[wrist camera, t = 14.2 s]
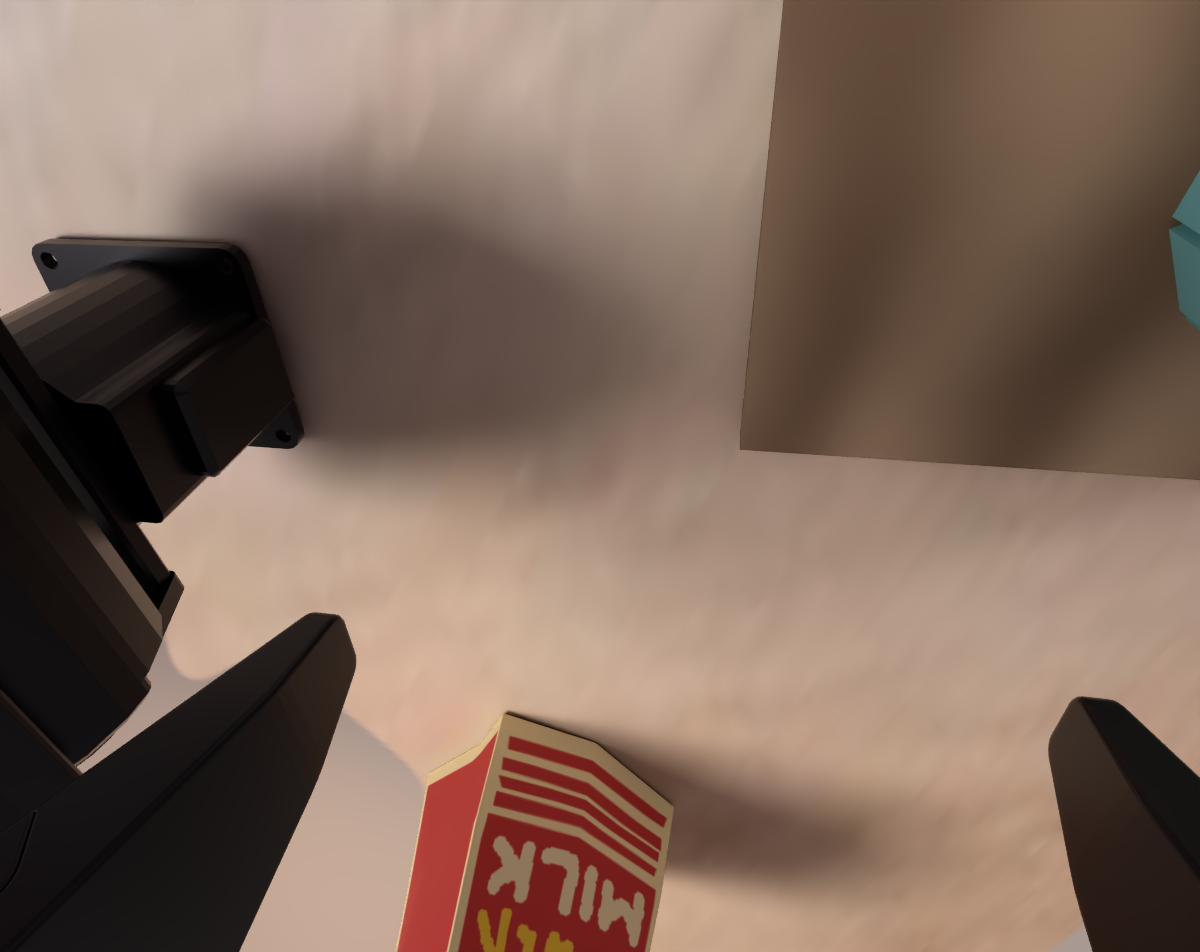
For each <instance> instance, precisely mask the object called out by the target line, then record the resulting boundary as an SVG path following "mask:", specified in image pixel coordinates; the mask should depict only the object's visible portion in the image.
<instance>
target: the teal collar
mask: <svg viewBox="0 0 1200 952" xmlns="http://www.w3.org/2000/svg"><path fill="white" fill-rule="evenodd" d="M1172 217H1173V218H1175V219H1177V220H1178V221H1180V222H1181V223H1183V224H1181V225H1179V226H1176V227H1173V228H1171V229H1169V233H1170V241H1171V248H1172V256H1173V263H1174V271H1175V279H1176V286H1177V294H1178V302H1179V309H1180V311H1181V312H1182V313H1184V314H1185V315H1186V316H1187V317H1186V318H1185V319H1187V320H1188V321H1189V322H1190V323H1191V324H1193V325H1194V326H1195V327H1196V328H1197V329H1198V330H1200V171H1199V173H1198V174H1197V176H1196V178H1195V179H1194V181H1193V183H1192V184H1191V186H1190V188H1189V189H1188V191H1187V193H1186V194H1185V196H1184V198H1183V199H1182V201H1181V203H1180V204H1179V206H1178V208H1177V209H1176V211H1175V213H1174V214H1173V216H1172Z"/></svg>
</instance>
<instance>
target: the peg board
mask: <svg viewBox="0 0 1200 952" xmlns="http://www.w3.org/2000/svg"><path fill="white" fill-rule="evenodd" d="M1199 171H1200V0H784V2H783V12H782V22H781V32H780V42H779V52H778V62H777V72H776V82H775V91H774V101H773V111H772V121H771V131H770V141H769V151H768V161H767V171H766V181H765V191H764V201H763V211H762V221H761V231H760V241H759V251H758V261H757V271H756V281H755V291H754V301H753V311H752V321H751V331H750V341H749V351H748V361H747V371H746V381H745V391H744V401H743V411H742V421H741V431H740V450H753V451H768V452H784V453H799V454H814V455H829V456H844V457H860V458H875V459H890V460H905V461H921V462H936V463H951V464H966V465H981V466H997V467H1012V468H1027V469H1042V470H1058V471H1073V472H1088V473H1103V474H1118V475H1134V476H1149V477H1164V478H1179V479H1195V480H1200V330H1198V329H1197V328H1196V327H1195V326H1194V325H1193V324H1191V323H1190V322H1189V321H1188V320H1187V319H1185V318H1186V317H1187V316H1186V315H1185V314H1184V313H1182V312H1181V311H1180V309H1179V302H1178V294H1177V286H1176V279H1175V271H1174V263H1173V256H1172V248H1171V241H1170V233H1169V229H1171V228H1173V227H1176V226H1179V225H1181V224H1183V223H1181V222H1180V221H1178V220H1177V219H1175V218H1173V217H1172V216H1173V214H1174V213H1175V211H1176V209H1177V208H1178V206H1179V204H1180V203H1181V201H1182V199H1183V198H1184V196H1185V194H1186V193H1187V191H1188V189H1189V188H1190V186H1191V184H1192V183H1193V181H1194V179H1195V178H1196V176H1197V174H1198V173H1199Z"/></svg>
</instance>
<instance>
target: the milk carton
mask: <svg viewBox="0 0 1200 952" xmlns="http://www.w3.org/2000/svg"><path fill="white" fill-rule="evenodd" d="M673 811H674V807H673V806H672V805H671V804H669V803H668V802H667V801H666V800H665V799H663V798H662V797H661V796H660V795H658V794H657V793H656V792H655V791H654V790H652V789H651V788H650V787H649V786H647V785H646V784H645V783H644V782H643V781H641V780H640V779H639V778H638V777H636V776H635V775H634V774H633V773H632V772H630V771H629V770H628V769H627V768H625V767H624V766H623V765H622V764H621V763H619V762H618V761H617V760H616V759H614V758H613V757H612V756H611V755H610V754H608V753H607V752H606V751H605V750H603V749H602V748H601V747H600V746H599V745H597V744H596V743H594V742H591V741H588V740H585V739H582V738H578V737H575V736H572V735H569V734H566V733H563V732H560V731H557V730H554V729H551V728H547V727H544V726H541V725H538V724H535V723H532V722H529V721H526V720H523V719H519V718H516V717H513V716H510V715H507V714H504V713H503V715H502V716H501V717H500V719H499V720H498V721H497V723H496V724H495V725H494V726H493V728H492V729H491V730H490V732H489V733H488V734H487V736H486V737H485V738H484V739H483V741H482V742H481V743H480V744H479V745H478V746H476V747H474V748H472V749H471V750H469V751H467V752H465V753H464V754H462V755H460V756H458V757H456V758H455V759H453V760H451V761H449V762H448V763H446V764H444V765H442V766H441V767H439V768H437V769H435V770H434V771H432V772H430V773H429V775H428V781H427V786H426V792H425V797H424V803H423V808H422V814H421V819H420V825H419V830H418V836H417V841H416V846H415V852H414V858H413V863H412V868H411V874H410V879H409V885H408V890H407V896H406V902H405V906H404V911H403V916H402V921H401V927H400V932H399V936H398V941H397V947H396V952H650V947H651V942H652V937H653V932H654V927H655V922H656V917H657V913H658V908H659V903H660V898H661V892H662V885H663V879H664V872H665V865H666V858H667V852H668V845H669V838H670V831H671V825H672V818H673Z"/></svg>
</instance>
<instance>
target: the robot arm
mask: <svg viewBox="0 0 1200 952" xmlns="http://www.w3.org/2000/svg"><path fill="white" fill-rule="evenodd" d="M52 255H53V256H54V257H55V259H56V260H57V261H56V260H55V259H54V258H53V256H52ZM32 256H33V259H34V261H35V263H36V265H37V267H38V269H39V271H40V273H41V275H42V277H43V279H44V281H45V283H46V285H47V287H48V289H49V291H50V293H48V294H46V295H44V296H42V297H40V298H38V299H36V300H34V301H32V302H30V303H28V304H26V305H24V306H22V307H20V308H18V309H16V310H14V311H12V312H10V313H8V314H6V315H4V316H2V317H0V952H239V951H240V949H241V946H242V944H243V942H244V940H245V938H246V936H247V933H248V931H249V929H250V927H251V925H252V923H253V920H254V918H255V916H256V914H257V912H258V909H259V907H260V905H261V903H262V901H263V899H264V896H265V894H266V892H267V890H268V888H269V886H270V883H271V881H272V879H273V877H274V875H275V872H276V870H277V868H278V866H279V864H280V862H281V860H282V857H283V855H284V853H285V851H286V849H287V846H288V844H289V842H290V840H291V838H292V836H293V833H294V831H295V829H296V827H297V825H298V823H299V820H300V818H301V816H302V814H303V812H304V809H305V807H306V805H307V803H308V800H309V799H310V796H311V794H312V792H313V789H314V787H315V785H316V782H317V780H318V777H319V775H320V772H321V769H322V767H323V764H324V761H325V758H326V756H327V753H328V749H329V746H330V744H331V741H332V738H333V734H334V732H335V729H336V726H337V723H338V720H339V717H340V714H341V711H342V708H343V705H344V702H345V699H346V697H347V694H348V691H349V688H350V685H351V682H352V679H353V676H354V673H355V668H356V654H355V651H354V648H353V645H352V642H351V639H350V636H349V633H348V630H347V628H346V625H345V622H344V620H343V619H342V618H341V617H340V616H339V615H336V614H327V613H318V612H314V613H310V614H307V615H305V616H304V617H302V618H301V619H299V620H298V621H297V622H295V623H294V624H292V625H291V626H290V627H288V628H287V629H285V630H284V631H283V632H281V633H280V634H278V635H277V636H276V637H274V638H273V639H271V640H270V641H269V642H267V643H266V644H264V645H263V646H262V647H260V648H259V649H257V650H256V651H255V652H253V653H252V654H250V655H249V656H248V657H246V658H245V659H243V660H242V661H241V662H239V663H238V664H236V665H235V666H234V667H232V668H231V669H229V670H228V671H227V672H225V673H224V674H222V675H221V676H220V677H218V678H217V679H215V680H214V681H212V682H211V683H210V684H209V685H207V686H206V687H204V688H203V689H201V690H200V691H199V692H197V693H196V694H195V695H193V696H191V697H190V698H189V699H187V700H186V701H184V702H183V703H182V704H180V705H179V706H178V707H176V708H175V709H173V710H172V711H171V712H169V713H168V714H166V715H165V716H163V717H162V718H161V719H159V720H158V721H156V722H155V723H154V724H152V725H151V726H149V727H148V728H147V729H145V730H144V731H142V732H141V733H140V734H138V735H137V736H136V737H134V738H133V739H131V740H130V741H128V742H127V743H126V744H124V745H123V746H121V747H120V748H119V749H117V750H116V751H114V752H113V753H112V754H110V755H109V756H107V757H106V758H105V759H103V760H102V761H100V762H99V763H98V764H96V765H95V766H93V767H92V768H91V769H89V770H88V771H86V772H85V773H82V772H81V771H80V770H79V769H78V768H77V766H78V765H79V764H81V763H82V762H83V761H85V760H86V759H88V758H89V757H90V756H92V755H93V754H94V753H95V752H96V751H97V750H98V749H99V748H100V747H101V746H102V745H103V744H105V742H107V741H108V740H109V739H110V738H111V737H112V736H113V734H114V733H115V732H116V731H117V730H118V729H119V728H120V727H121V726H122V725H123V724H125V723H126V722H127V721H128V719H129V718H130V717H131V715H132V714H133V713H134V712H135V711H136V709H137V708H138V707H139V706H140V705H141V703H142V702H143V701H144V700H145V698H146V696H147V694H148V693H149V691H150V689H151V682H150V681H149V680H148V678H147V677H146V675H147V673H148V672H149V670H150V668H151V665H152V663H153V661H154V658H155V656H156V654H157V651H158V649H159V646H160V644H161V642H162V639H163V636H164V634H165V632H166V629H167V627H168V625H169V623H170V620H171V618H172V616H173V613H174V611H175V609H176V606H177V604H178V602H179V600H180V597H181V595H182V593H183V590H184V586H183V584H182V583H181V581H180V580H179V578H178V577H177V575H176V574H175V572H174V571H169V570H168V569H167V567H166V566H165V564H164V563H163V561H162V560H161V558H160V557H159V555H158V554H157V552H156V551H155V549H154V548H153V546H152V545H151V543H150V542H149V540H148V539H147V537H146V536H145V534H144V533H143V531H142V530H141V528H140V527H139V525H140V524H141V523H142V522H149V523H161V522H162V521H163V520H164V519H165V518H166V517H167V516H168V515H169V514H170V513H171V512H172V511H174V510H175V509H176V508H177V507H178V506H179V505H180V504H181V503H182V502H183V501H184V500H185V499H186V498H187V497H188V496H189V495H190V494H191V493H192V492H193V491H194V490H195V489H196V488H197V487H198V486H199V485H200V484H201V483H202V482H203V481H204V480H205V479H206V478H207V477H216V476H218V475H219V474H220V473H221V472H222V471H223V470H224V469H225V468H226V467H227V466H228V465H229V464H230V463H231V462H232V461H233V460H234V459H235V458H236V457H237V456H238V455H239V454H240V453H241V452H242V451H243V450H244V449H245V448H246V447H247V446H255V447H268V448H282V449H291V448H294V447H295V446H297V445H298V443H299V442H300V441H301V440H302V439H303V437H304V429H303V426H302V423H301V420H300V417H299V414H298V411H297V408H296V405H295V401H294V395H293V392H292V389H291V386H290V383H289V380H288V377H287V373H286V370H285V367H284V364H283V361H282V358H281V355H280V352H279V348H278V345H277V342H276V339H275V336H274V333H273V330H272V327H271V325H270V324H269V321H268V317H267V314H266V311H265V308H264V305H263V302H262V299H261V296H260V293H259V289H258V286H257V283H256V280H255V277H254V274H253V271H252V268H251V265H250V262H249V260H248V258H247V256H246V254H245V253H244V252H243V251H242V250H241V249H240V248H238V247H237V246H235V245H232V244H228V243H196V242H158V241H120V240H81V239H48V240H45V241H43V242H40V243H38V244H35V246H34V247H33V248H32ZM224 258H227V259H228V260H229V261H230V262H231V263H232V265H233V267H234V270H233V269H231V268H230V267H228V266H227V264H226V263H225V260H224ZM0 310H1V309H0ZM283 430H285V431H287V432H288V433H289V435H287V434H286V433H285V432H284V431H283ZM1048 753H1049V761H1050V766H1051V772H1052V777H1053V782H1054V788H1055V793H1056V798H1057V804H1058V809H1059V814H1060V819H1061V825H1062V830H1063V835H1064V841H1065V846H1066V851H1067V856H1068V862H1069V867H1070V872H1071V876H1072V881H1073V886H1074V890H1075V894H1076V897H1077V901H1078V905H1079V908H1080V912H1081V915H1082V918H1083V922H1084V925H1085V928H1086V932H1087V935H1088V938H1089V941H1090V945H1091V947H1092V951H1093V952H1200V777H1199V776H1198V775H1197V774H1195V773H1194V772H1193V771H1192V770H1191V769H1190V768H1189V767H1188V766H1187V765H1186V764H1185V763H1184V762H1183V761H1182V760H1180V759H1179V758H1178V757H1177V756H1176V755H1175V754H1174V753H1173V752H1172V751H1171V750H1170V749H1169V748H1168V747H1167V746H1166V745H1164V744H1163V743H1162V742H1161V741H1160V740H1159V739H1158V738H1157V737H1156V736H1155V735H1154V734H1153V733H1152V732H1151V731H1150V730H1148V729H1147V728H1146V727H1145V726H1144V725H1143V724H1142V723H1141V722H1140V721H1139V720H1138V719H1137V718H1136V717H1135V716H1134V715H1132V714H1131V713H1130V712H1129V711H1128V710H1127V709H1126V708H1125V707H1124V706H1122V705H1121V704H1119V703H1118V702H1116V701H1114V700H1109V699H1102V698H1093V697H1083V696H1081V697H1076V698H1075V699H1073V700H1072V701H1071V702H1070V703H1069V705H1068V707H1067V709H1066V710H1065V712H1064V714H1063V716H1062V717H1061V719H1060V721H1059V723H1058V724H1057V726H1056V728H1055V730H1054V731H1053V733H1052V735H1051V737H1050V741H1049V747H1048Z"/></svg>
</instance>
